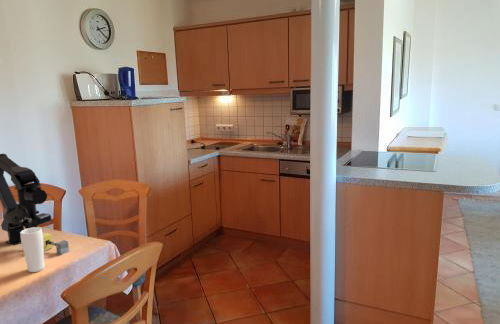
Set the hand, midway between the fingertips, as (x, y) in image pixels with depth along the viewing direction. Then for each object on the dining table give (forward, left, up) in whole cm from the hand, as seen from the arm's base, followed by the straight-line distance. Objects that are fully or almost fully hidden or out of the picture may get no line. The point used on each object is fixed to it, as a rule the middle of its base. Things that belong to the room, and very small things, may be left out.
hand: (31, 236), depth 151 cm
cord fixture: (+9, 0, -5) cm, 10 cm away
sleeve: (+7, 0, -4) cm, 8 cm away
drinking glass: (+20, -14, -5) cm, 25 cm away
